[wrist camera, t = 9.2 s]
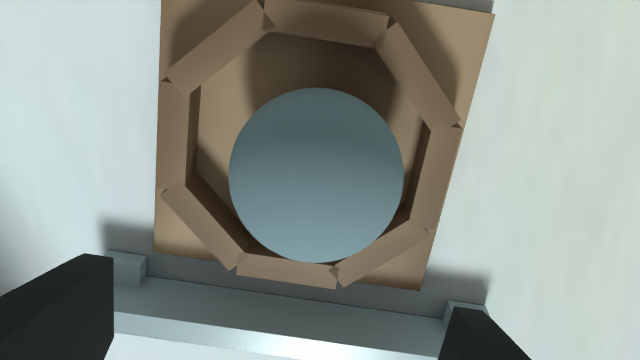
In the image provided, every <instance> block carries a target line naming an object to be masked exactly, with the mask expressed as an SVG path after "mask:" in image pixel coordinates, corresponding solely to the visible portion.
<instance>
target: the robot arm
mask: <svg viewBox="0 0 640 360" xmlns="http://www.w3.org/2000/svg"><path fill="white" fill-rule="evenodd" d="M113 338H114V259H113V257H106V256H99V255H92V254H85V253H84V254H82V255H80V256H77V257H75V258H73V259H71V260H69V261H67V262H65V263H63V264H61V265H59V266H58V267H56V268H54V269H52V270H50V271H48V272H46V273H44V274H42V275H41V276H39V277H37V278H35V279H33V280H31V281H29V282H27V283H25V284H23V285H22V286H20V287H18V288H16V289H14V290H12V291H10V292H8V293H6V294H4V295H2V296H0V360H104V358H105V356H106V354H107V351H108V349H109V347H110V345H111V342H112V340H113ZM438 360H531V359H530V358H529V357H528V356H527V355H526V354H525V353H524V352H523V351H522V350H521V348H520V347H519V346H518V345H517V344H516V343H515V342H514V341H513V340H512V339H511V338H510V337H509V336H508V335H507V334H506V333H505V332H504V331H503V330H502V329H501V328H500V327H499V326H498V325H497V324H496V323H495V322H494V321H493V320H492V319H491V318H490V317H489V316H488V315H487V314H486V313H485V312H484V311H483V310H478V309H471V308H464V307H457V306H454V307H453V311H452V314H451V317H450V321H449V324H448V327H447V330H446V334H445V337H444V340H443V344H442V347H441V350H440V354H439V357H438Z"/></svg>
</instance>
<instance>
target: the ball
mask: <svg viewBox="0 0 640 360" xmlns="http://www.w3.org/2000/svg"><path fill="white" fill-rule="evenodd" d="M228 179H229V188H230V195H231V198H232V202H233V205H234V207H235V209H236V212H237V214H238V216H239V218H240V220H241V221H242V223H243V224H244V226H245V227H246V229H247V230H248V231H249V232H250V233H251V234H252V236H253V237H254V238H255V239H257V240H258V241H259V242H260V243H261V244H262V245H264V246H265V247H267V248H268V249H269V250H271V251H273V252H275V253H277V254H279V255H281V256H283V257H286V258H289V259H291V260H296V261H300V262H308V263H323V262H332V261H336V260H340V259H343V258H346V257H349V256H351V255H353V254H355V253H357V252H359V251H361V250H362V249H364V248H366V247H367V246H368V245H370V244H371V243H372V242H374V241H375V240H376V239H377V238H378V237H379V236H380V235H381V234H382V233H383V231H384V230H385V229H386V228H387V226H388V225H389V223H390V221H391V220H392V218H393V216H394V214H395V212H396V210H397V208H398V205H399V202H400V199H401V195H402V189H403V181H404V169H403V160H402V156H401V152H400V148H399V145H398V143H397V140H396V138H395V136H394V134H393V133H392V131H391V129H390V128H389V126H388V124H387V123H386V122H385V121H384V119H383V118H382V117H381V116H380V115H379V114H378V113H377V112H376V111H375V110H374V109H373V108H372V107H370V106H369V105H368V104H366V103H365V102H363V101H362V100H360V99H359V98H356V97H354V96H352V95H350V94H348V93H345V92H342V91H338V90H333V89H328V88H303V89H298V90H293V91H290V92H287V93H284V94H282V95H280V96H278V97H276V98H274V99H272V100H270V101H269V102H267V103H266V104H264V105H263V106H262V107H261V108H259V109H258V110H257V111H256V112H255V113H254V114H253V115H252V116H251V117H250V119H249V120H248V121H247V122H246V123H245V125H244V126H243V128H242V129H241V131H240V132H239V134H238V137H237V139H236V141H235V143H234V146H233V149H232V153H231V156H230V162H229V174H228Z"/></svg>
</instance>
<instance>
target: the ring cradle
mask: <svg viewBox="0 0 640 360" xmlns="http://www.w3.org/2000/svg"><path fill="white" fill-rule="evenodd" d="M494 17H495V14H492V13H486V12H480V11H474V10H467V9H461V8H455V7H449V6H443V5H437V4H431V3H425V2H419V1H413V0H161V27H160V59H159V91H158V123H157V155H156V187H155V219H154V251H153V252H158V253H164V254H171V255H178V256H185V257H191V258H198V259H205V260H212V261H219V262H221V263H222V264H223V266H224V267H225V268H226V269H227V270H228V271H229V270H231V269H232V268H234V267H235V266H237V269H236V275H240V276H247V277H254V278H261V279H267V280H274V281H281V282H288V283H295V284H301V285H308V286H315V287H322V288H329V289H336V285H337V281H338V282H339V283H340V284H341V285H342V287H343V288H344V287H346V286H348V285H349V284H351V283H353V282H361V283H368V284H375V285H381V286H388V287H395V288H402V289H409V290H415V291H420V289H421V285H422V281H423V278H424V274H425V270H426V267H427V263H428V259H429V256H430V252H431V248H432V245H433V241H434V237H435V234H436V230H437V226H438V223H439V219H440V215H441V212H442V208H443V204H444V201H445V197H446V193H447V190H448V186H449V182H450V179H451V175H452V171H453V168H454V164H455V160H456V157H457V153H458V149H459V146H460V142H461V138H462V135H463V131H464V127H465V124H466V120H467V116H468V113H469V109H470V105H471V102H472V98H473V94H474V91H475V87H476V83H477V80H478V76H479V72H480V69H481V65H482V61H483V58H484V54H485V50H486V47H487V43H488V39H489V36H490V32H491V28H492V25H493V21H494ZM303 88H328V89H333V90H338V91H342V92H345V93H348V94H350V95H352V96H354V97H356V98H359V99H360V100H362V101H363V102H365V103H366V104H368V105H369V106H370V107H372V108H373V109H374V110H375V111H376V112H377V113H378V114H379V115H380V116H381V117H382V118H383V119H384V121H385V122H386V123H387V124H388V126H389V128H390V129H391V131H392V133H393V134H394V136H395V138H396V140H397V143H398V145H399V148H400V152H401V156H402V160H403V169H404V181H403V189H402V195H401V199H400V202H399V205H398V208H397V210H396V212H395V214H394V216H393V218H392V220H391V221H390V223H389V225H388V226H387V228H386V229H385V230H384V231H383V233H382V234H381V235H380V236H379V237H378V238H377V239H376V240H375V241H374V242H372V243H371V244H370V245H368V246H367V247H366V248H364V249H362V250H361V251H359V252H357V253H355V254H353V255H351V256H349V257H346V258H343V259H340V260H336V261H332V262H323V263H308V262H300V261H296V260H291V259H289V258H286V257H283V256H281V255H279V254H277V253H275V252H273V251H271V250H269V249H268V248H267V247H265V246H264V245H262V244H261V243H260V242H259V241H258V240H257V239H255V238H254V237H253V236H252V234H251V233H250V232H249V231H248V230H247V229H246V227H245V226H244V224H243V223H242V221H241V220H240V218H239V216H238V214H237V212H236V209H235V207H234V205H233V202H232V198H231V195H230V188H229V179H228V174H229V162H230V156H231V153H232V149H233V146H234V143H235V141H236V139H237V137H238V134H239V132H240V131H241V129H242V128H243V126H244V125H245V123H246V122H247V121H248V120H249V119H250V117H251V116H252V115H253V114H254V113H255V112H256V111H257V110H258V109H259V108H261V107H262V106H263V105H264V104H266V103H267V102H269V101H270V100H272V99H274V98H276V97H278V96H280V95H282V94H284V93H287V92H290V91H293V90H298V89H303Z"/></svg>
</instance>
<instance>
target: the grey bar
mask: <svg viewBox="0 0 640 360" xmlns="http://www.w3.org/2000/svg"><path fill="white" fill-rule="evenodd" d="M104 256H106V257H113V259H114V333H121V334H128V335H135V336H142V337H149V338H156V339H163V340H170V341H177V342H184V343H191V344H198V345H205V346H212V347H219V348H226V349H233V350H240V351H247V352H254V353H261V354H268V355H275V356H282V357H289V358H296V359H304V360H438V357H439V354H440V350H441V347H442V344H443V340H444V337H445V334H446V330H447V327H448V324H449V321H450V317H451V314H452V311H453V307H454V306H457V307H464V308H471V309H478V310H483V311H484V312H485V313H486V314H487V315H488V316H489V313H488V311H487V309H486V307H485V306H484V305H477V304H470V303H464V302H457V301H450V300H448V302H447V306H446V309H445V312H444V316H443V319H437V318H430V317H423V316H416V315H409V314H403V313H396V312H389V311H382V310H375V309H368V308H361V307H355V306H348V305H341V304H334V303H327V302H320V301H313V300H307V299H300V298H293V297H286V296H279V295H272V294H266V293H259V292H252V291H245V290H238V289H231V288H224V287H218V286H211V285H204V284H197V283H190V282H183V281H176V280H170V279H163V278H156V277H149V276H146V266H147V256H144V255H137V254H130V253H124V252H117V251H110V250H108V251H107V252H106V254H105V255H104ZM489 317H490V316H489Z"/></svg>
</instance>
